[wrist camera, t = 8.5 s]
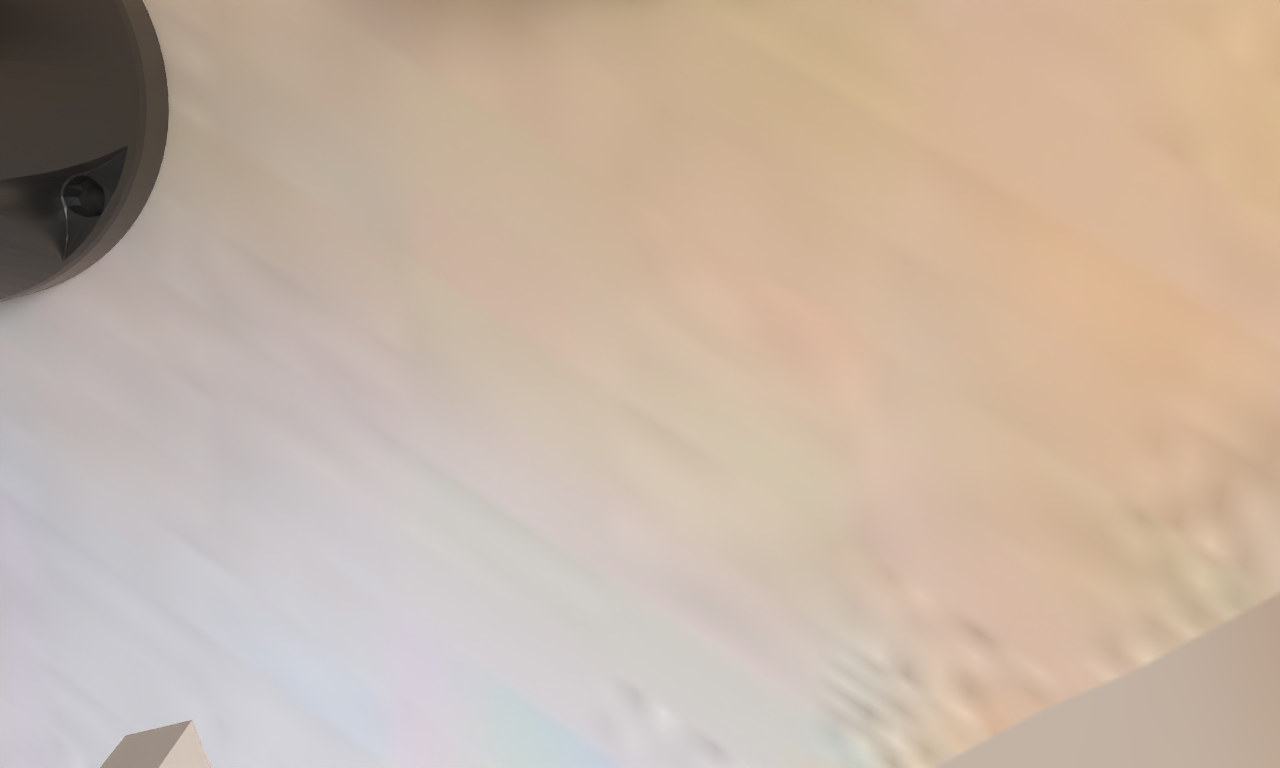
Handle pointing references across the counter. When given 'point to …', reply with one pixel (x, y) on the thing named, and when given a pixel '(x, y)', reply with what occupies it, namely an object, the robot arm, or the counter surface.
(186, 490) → the counter surface
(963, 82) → the counter surface
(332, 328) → the counter surface
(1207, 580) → the counter surface
